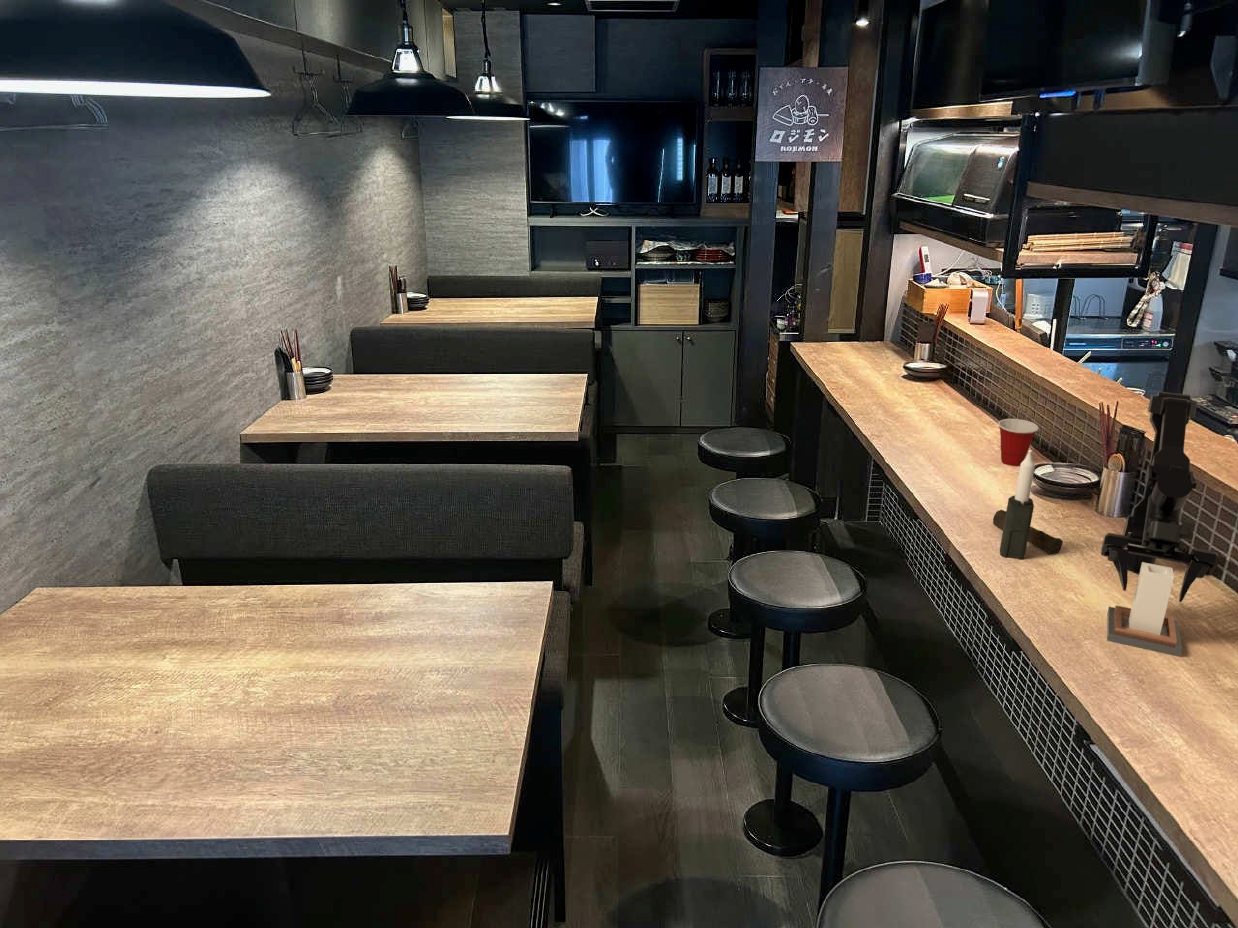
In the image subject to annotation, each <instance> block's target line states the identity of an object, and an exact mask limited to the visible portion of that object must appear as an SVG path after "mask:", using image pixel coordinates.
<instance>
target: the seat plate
mask: <svg viewBox="0 0 1238 928" xmlns="http://www.w3.org/2000/svg"><path fill="white" fill-rule="evenodd" d="M1131 608H1132V607H1131ZM1131 608H1130V607H1124V606H1121V605H1115V607H1113V606H1108V608H1107V612H1106V613H1107V615H1106V617H1107V618H1106V623H1107V624H1106V629H1107V630H1106V641H1107V642H1108V641H1109V642H1113V643H1116V644H1117V643H1118V644H1122V645H1126V646H1131V647H1135V648H1139V649H1144V650H1148V651H1153V652H1157V653H1162V654H1166V655H1170V654H1171V656H1176V657H1178V658H1179V657H1180V658H1181V654H1182V652H1183V645H1182V639H1181V632H1180V624H1179V620H1176V619H1175V616H1174V617H1173V616H1169V615H1165V616H1164V621H1163V625H1162V629H1161V633H1160V635H1158V634H1154V633H1149V632H1144V631H1140V630H1135V629H1131V628H1129V617H1130V612H1131Z"/></svg>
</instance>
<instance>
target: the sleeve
mask: <svg viewBox="0 0 1238 928" xmlns="http://www.w3.org/2000/svg"><path fill="white" fill-rule="evenodd" d="M1174 576H1175V575H1174V571H1173V567H1170V566H1164V565H1159V564H1155V565H1154V564H1149V563H1144V562H1142V565H1141V569H1140V573H1139V574H1138V579H1137V582H1136V587H1135V591H1134V596H1133V600H1132V604H1131V612H1130V617H1129V628H1131V629H1135V630H1140V631H1144V632H1149V633H1154V634H1158V635H1160V633H1161V629H1162V625H1163V621H1164V616H1166V612H1167V608H1168V604H1169V600H1170V597H1171V591H1172V588H1173V583H1174V580H1175V577H1174Z"/></svg>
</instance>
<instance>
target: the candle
mask: <svg viewBox="0 0 1238 928" xmlns="http://www.w3.org/2000/svg"><path fill="white" fill-rule="evenodd" d="M1035 468H1036V465H1035V462H1034V460H1033V450H1032V449H1028V452H1027V454H1026V456H1025V459H1024V461H1023V462H1022V463H1021V465H1020V466H1019V471H1018V476H1017V477H1018V478H1017V482H1016V489H1015V495H1011V496H1010V497H1009V498H1008V499H1007V500H1008V501H1007V505H1006V510H1005V511H1006V516H1005V522H1004V528H1003V531H1002V532H1001V533H1002V534H1001V540H1000V546H999V555H1000V556H1001V557H1003V558H1009V559H1017V560H1021V561H1022V560H1024V559H1025V556H1026V552H1027V546H1028V542H1029V541H1028V536H1029V530H1030V526H1031V523H1032V518H1033V514H1034V507H1035V504H1034V500H1033V499H1032V498H1030V496H1031V495H1030V494H1031V491H1032V485H1033V479H1034V473H1035Z"/></svg>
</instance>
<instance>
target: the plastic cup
mask: <svg viewBox="0 0 1238 928" xmlns="http://www.w3.org/2000/svg"><path fill="white" fill-rule="evenodd" d="M997 424H998V426H999V432H1000V433H999V434H1000V460H1001V463H1002V464H1004V465H1007V466H1010V467H1011V466H1012V467H1020V465H1021V463H1022V462H1023V461H1024V460H1025V458H1026V456H1027V454H1028V450H1030V446H1031V444H1032V440H1033V438H1034V436H1035V434H1036V432H1037V431H1038V430H1039V426H1038V424H1036V423H1034V422H1032V421H1029V420H1025V419H1020V418H1004V419H1002V420H999V421H998V423H997Z"/></svg>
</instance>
